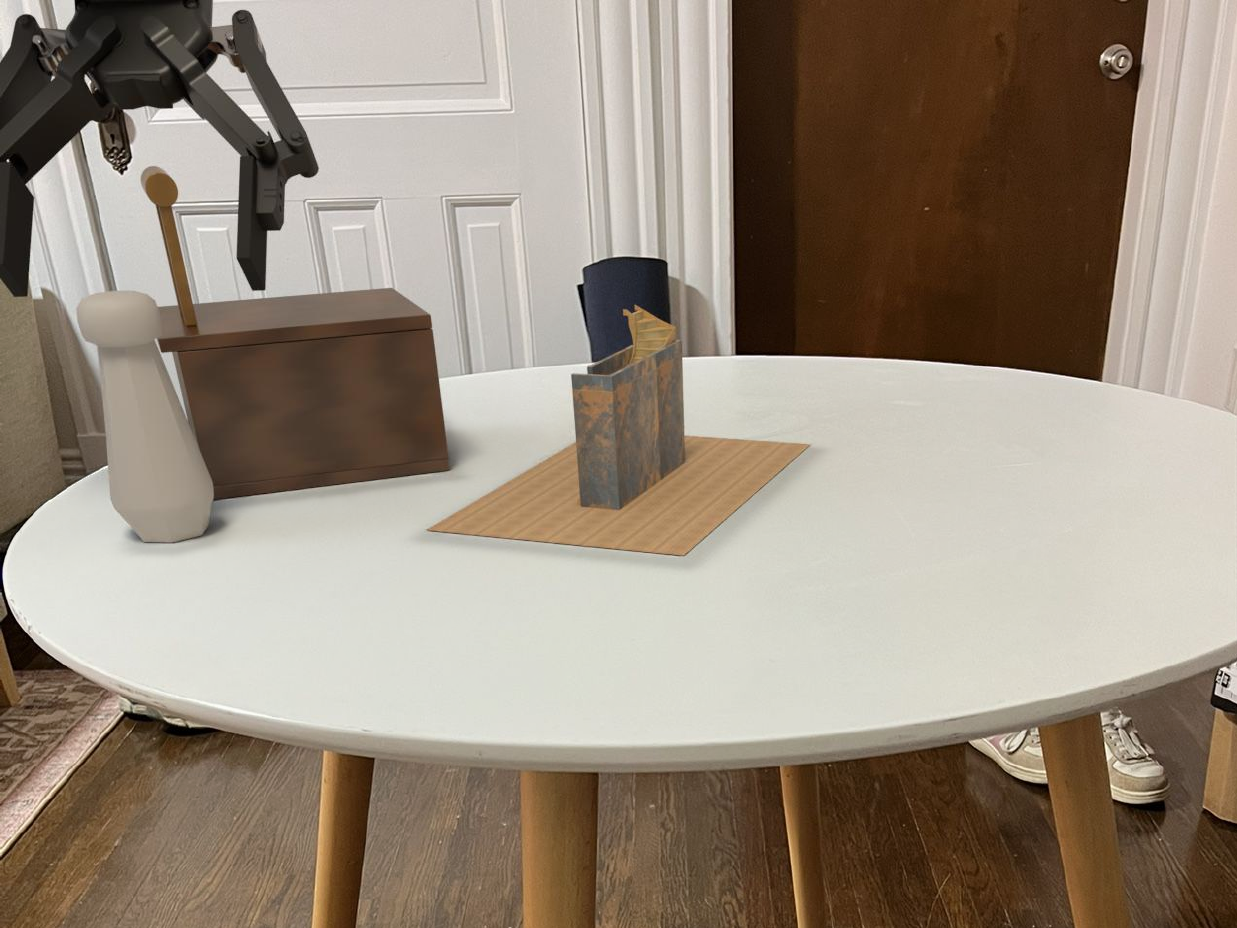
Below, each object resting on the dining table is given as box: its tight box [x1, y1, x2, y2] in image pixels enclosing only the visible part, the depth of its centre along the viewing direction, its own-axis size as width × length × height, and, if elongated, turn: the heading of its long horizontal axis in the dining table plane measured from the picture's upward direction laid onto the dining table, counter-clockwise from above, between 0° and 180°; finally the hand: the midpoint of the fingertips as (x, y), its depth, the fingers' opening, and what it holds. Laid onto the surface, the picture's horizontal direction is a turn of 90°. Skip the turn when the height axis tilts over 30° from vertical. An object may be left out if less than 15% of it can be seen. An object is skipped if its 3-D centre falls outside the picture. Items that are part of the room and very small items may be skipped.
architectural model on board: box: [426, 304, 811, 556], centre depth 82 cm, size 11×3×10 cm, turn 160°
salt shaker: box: [75, 290, 214, 544], centre depth 75 cm, size 6×6×13 cm
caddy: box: [171, 328, 451, 501], centre depth 88 cm, size 16×13×9 cm
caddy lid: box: [140, 165, 433, 354], centre depth 83 cm, size 16×13×9 cm
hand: (130, 278), depth 74 cm, fingers open, 13 cm apart
